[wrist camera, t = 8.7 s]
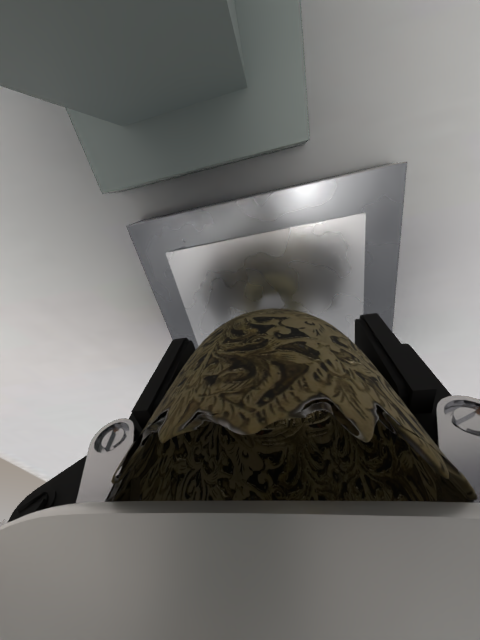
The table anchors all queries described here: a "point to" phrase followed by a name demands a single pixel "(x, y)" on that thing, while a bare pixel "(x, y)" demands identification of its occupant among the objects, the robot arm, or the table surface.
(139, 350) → the table surface
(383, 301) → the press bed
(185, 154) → the press stand
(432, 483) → the wire cup brush
